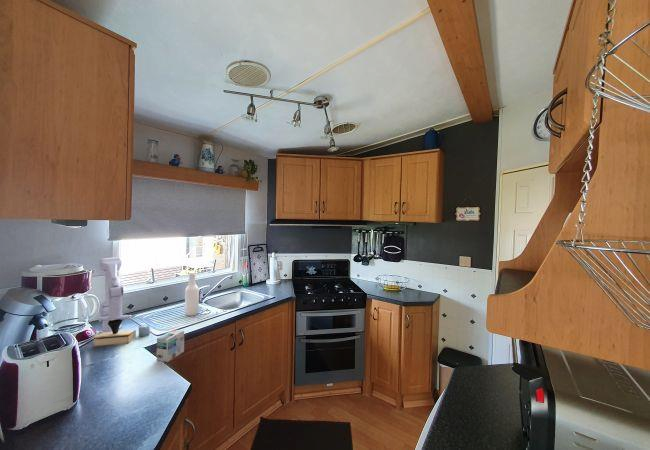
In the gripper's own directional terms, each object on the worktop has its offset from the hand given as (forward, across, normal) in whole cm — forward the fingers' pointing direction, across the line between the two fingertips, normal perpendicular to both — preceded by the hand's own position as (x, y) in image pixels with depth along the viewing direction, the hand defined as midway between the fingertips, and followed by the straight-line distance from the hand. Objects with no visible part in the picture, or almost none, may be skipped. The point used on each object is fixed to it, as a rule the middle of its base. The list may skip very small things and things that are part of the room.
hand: (115, 333), depth 139 cm
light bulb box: (+5, +35, -23) cm, 42 cm away
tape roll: (+5, +11, +6) cm, 14 cm away
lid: (+1, 0, 0) cm, 1 cm away
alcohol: (+5, +29, +37) cm, 47 cm away
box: (+5, 0, 0) cm, 5 cm away
